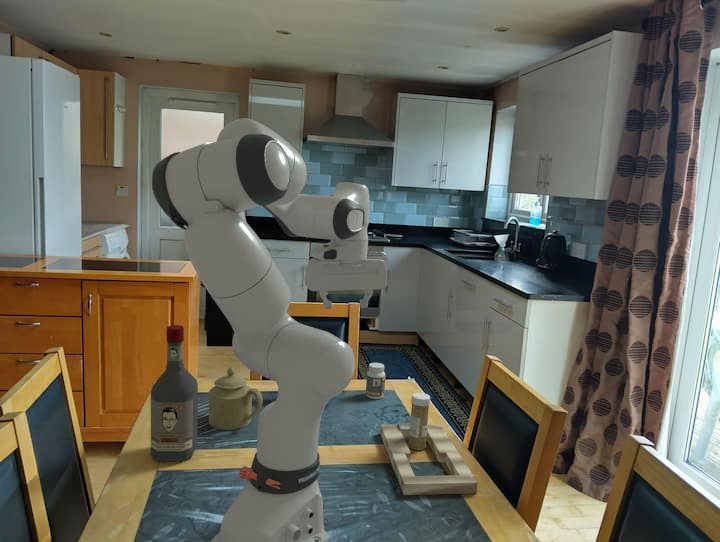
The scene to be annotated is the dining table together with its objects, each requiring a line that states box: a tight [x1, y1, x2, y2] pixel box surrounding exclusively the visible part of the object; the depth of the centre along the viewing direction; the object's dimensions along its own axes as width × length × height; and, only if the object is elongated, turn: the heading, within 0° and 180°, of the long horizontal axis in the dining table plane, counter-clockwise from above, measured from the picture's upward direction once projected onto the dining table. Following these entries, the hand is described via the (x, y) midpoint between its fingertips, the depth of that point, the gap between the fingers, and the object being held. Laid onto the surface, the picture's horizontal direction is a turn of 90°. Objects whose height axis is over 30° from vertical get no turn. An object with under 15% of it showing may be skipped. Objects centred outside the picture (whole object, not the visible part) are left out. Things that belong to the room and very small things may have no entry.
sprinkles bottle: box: [407, 392, 431, 451], centre depth 134 cm, size 5×5×13 cm
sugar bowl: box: [208, 366, 264, 431], centre depth 141 cm, size 15×11×15 cm
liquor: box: [150, 324, 199, 464], centre depth 122 cm, size 9×9×30 cm
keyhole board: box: [379, 422, 478, 496], centre depth 128 cm, size 28×16×3 cm, turn 8°
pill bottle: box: [365, 362, 386, 400], centre depth 165 cm, size 6×6×10 cm
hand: (345, 307), depth 130 cm, fingers open, 8 cm apart
